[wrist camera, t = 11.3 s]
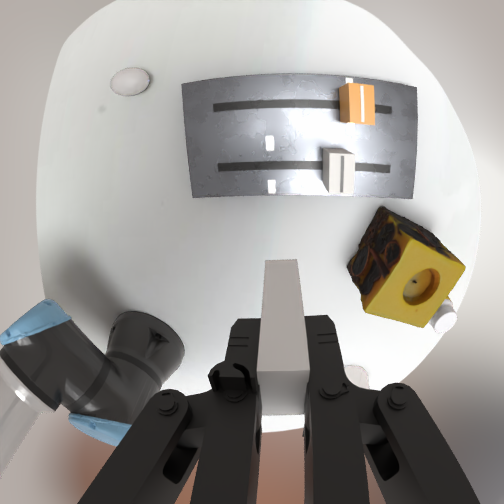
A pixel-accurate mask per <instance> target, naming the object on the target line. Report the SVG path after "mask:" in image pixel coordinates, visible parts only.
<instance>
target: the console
mask: <svg viewBox="0 0 504 504" xmlns="http://www.w3.org/2000/svg"><path fill="white" fill-rule="evenodd" d="M347 83H358V84H367V85H374V100H375V125H367V124H355V123H342V122H340V98H339V87H341V86H343V85H345V84H347ZM182 98H183V111H184V123H185V134H186V144H187V154H188V163H189V172H190V180H191V188H192V196H193V198H200V197H221V196H252V195H337V196H366V197H387V198H403V199H412V198H413V189H414V180H415V169H416V154H417V124H418V113H417V87H413V86H408V85H403V84H398V83H393V82H387V81H381V80H374V79H367V78H359V77H350V76H338V75H323V74H261V75H246V76H234V77H225V78H217V79H209V80H202V81H196V82H190V83H184V84H182ZM323 148H332V149H346V150H348V151H350V152H352V153H354V154H355V175H354V194H353V195H351V194H329V193H328V192H327V190H326V188H325V186H324V185H323Z"/></svg>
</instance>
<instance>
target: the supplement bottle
mask: <svg viewBox="0 0 504 504" xmlns="http://www.w3.org/2000/svg"><path fill="white" fill-rule="evenodd" d="M456 320H457V315H456V312H455V311H454V309H453V304H452V301H451V300H450V298H449V297H448V296H447V297H446V299H445V300H444V301H443V303H442V304H441V306H440V307H439V308H438V310H437V311H436V313H435V314H434V315H433V316H432V318H431V319H430V320H429V322H428V323H429V324H431V325H432V327H433V328H434V330H435V332H437V333H444V332H446V331H448V330H449V329H450V328H452V326H453V325H454V324H455V322H456Z"/></svg>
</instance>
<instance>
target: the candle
mask: <svg viewBox="0 0 504 504" xmlns="http://www.w3.org/2000/svg"><path fill="white" fill-rule="evenodd" d="M347 269H348V271H349V273H350V275H351V276H352V277H351V278H352V281H353V283H354V284H355V285H356V286H357V288H358V289H359V291H360V294H361V301H362V306H363V310H364V311H365V313H369V314H372V315H376V316H380V317H384V318H388V319H392V320H396V321H400V322H403V323H407V324H410V325H413V326H416V327H421V328H424V326H425V325H426V324H427V323H428V322H429V320H430V319H431V318H432V316H433V315H434V314H435V313H436V311H437V310H438V308H439V307H440V306H441V304H442V303H443V301H444V300H445V299H446V297H447V296H448V294H449V293H450V291H451V290H452V289H453V288H454V286H455V284H456V283H457V281H458V280H459V278H460V277H461V275H462V274H463V272H464V271H465V266H464V264H463V263H462V262H461V261H460V260H459V259H458V258H457V257H456V256H455V255H453V254H452V253H451V251H449V250H448V249H447V248H446V247H445V246H444V245H443V244H442V243H441V242H440V240H439V239H438V238H437V237H435V235H434V234H433V233H430V232H429V231H428V230H426V229H424V228H423V227H422V226H418V225H417V224H415V223H414V222H412V221H410V220H408V219H405V217H401V216H399V215H397V214H396V213H394V212H392V211H389V210H388V209H386V208H385V207H381V208H379V209H378V211H377V213H376V215H375V217H374V219H373V221H372V223H371V224H370V225H369V227H368V229H367V231H366V233H365V235H364V236H363V238H362V240H361V243H360V244H359V251H358V252H357V253H356V255H355V256H354V257H353V258H352V259H351V261H350V262H349V264H348V266H347Z"/></svg>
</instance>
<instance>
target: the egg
mask: <svg viewBox="0 0 504 504" xmlns="http://www.w3.org/2000/svg"><path fill="white" fill-rule="evenodd" d="M149 81H150V80H149V76H148V74H147V73H146V72H145V71H144V70H142V69H139V68H126V69H123V70H121V71H119V72H117V73H116V74H115V75H114V76H113V77H112V79H111V82H110V87H111V89H112V90H113V92H115V93H116V94H118V95H122V96H132V95H136V94H138V93H140V92H142V91H143V90H145V89H146V87H147V86H148V84H149Z"/></svg>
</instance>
